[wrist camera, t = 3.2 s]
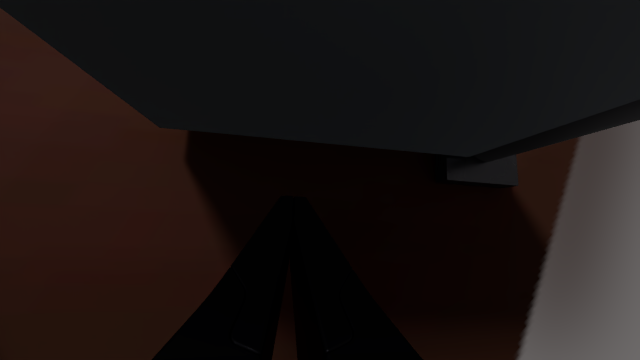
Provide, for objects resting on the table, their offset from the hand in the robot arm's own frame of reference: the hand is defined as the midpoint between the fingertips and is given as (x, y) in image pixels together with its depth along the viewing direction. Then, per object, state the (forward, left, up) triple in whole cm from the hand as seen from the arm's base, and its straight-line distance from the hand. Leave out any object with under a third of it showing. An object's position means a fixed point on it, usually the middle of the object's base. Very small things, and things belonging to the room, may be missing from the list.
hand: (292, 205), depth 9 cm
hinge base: (+5, -12, -7) cm, 15 cm away
